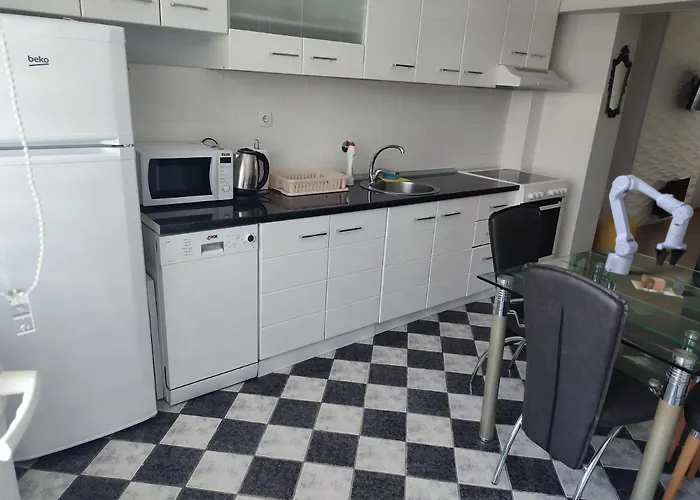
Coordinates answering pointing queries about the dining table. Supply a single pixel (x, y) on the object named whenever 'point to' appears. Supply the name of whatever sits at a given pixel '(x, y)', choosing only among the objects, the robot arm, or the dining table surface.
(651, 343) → the dining table surface
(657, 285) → the peach matte cube
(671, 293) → the gauge board
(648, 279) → the brown box with peg
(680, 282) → the grey flat block
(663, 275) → the dining table surface
